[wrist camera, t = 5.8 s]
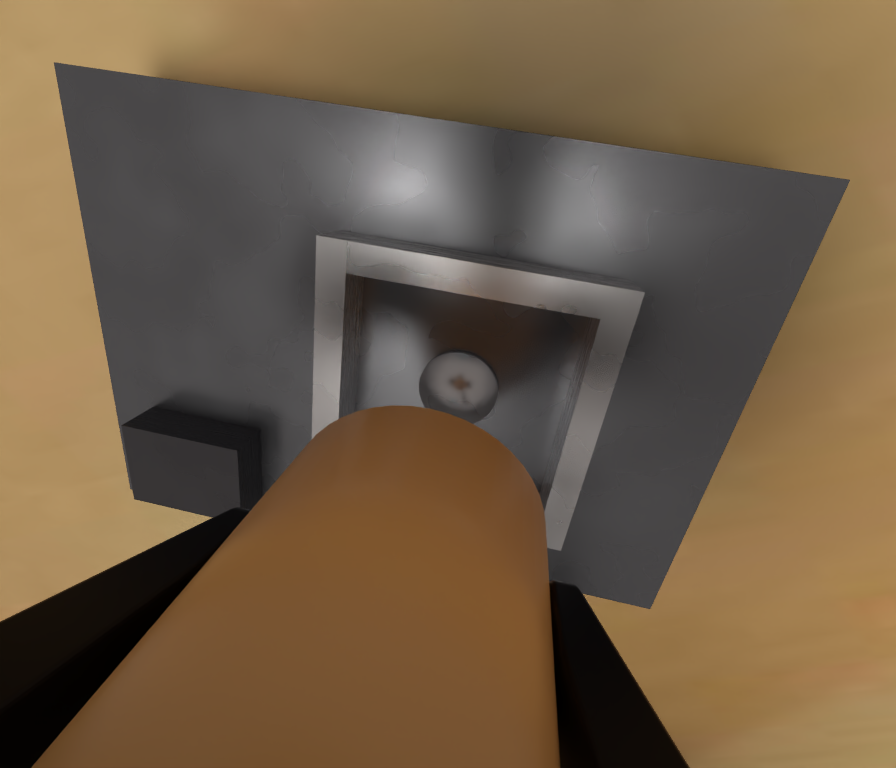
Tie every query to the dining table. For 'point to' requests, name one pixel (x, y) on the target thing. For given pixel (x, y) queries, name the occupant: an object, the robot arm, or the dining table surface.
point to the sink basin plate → (430, 299)
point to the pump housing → (352, 620)
